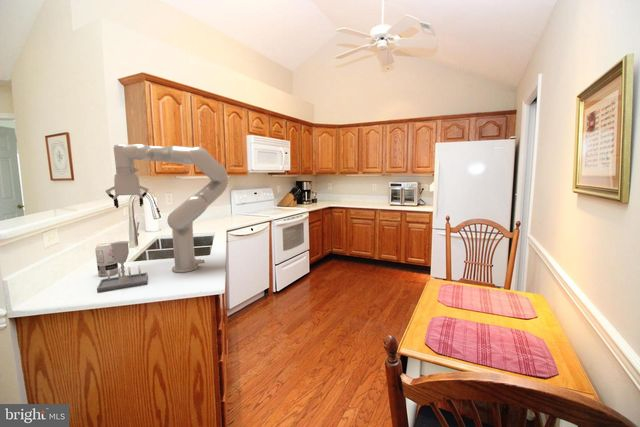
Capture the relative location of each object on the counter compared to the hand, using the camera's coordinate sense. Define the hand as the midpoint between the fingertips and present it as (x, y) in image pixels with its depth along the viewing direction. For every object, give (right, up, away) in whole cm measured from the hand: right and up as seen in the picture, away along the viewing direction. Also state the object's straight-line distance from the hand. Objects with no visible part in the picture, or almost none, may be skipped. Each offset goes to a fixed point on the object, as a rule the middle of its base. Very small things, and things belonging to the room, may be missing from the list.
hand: (129, 207), depth 143 cm
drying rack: (+4, -35, -9) cm, 36 cm away
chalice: (+4, -34, -9) cm, 36 cm away
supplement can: (-13, -33, +4) cm, 36 cm away
